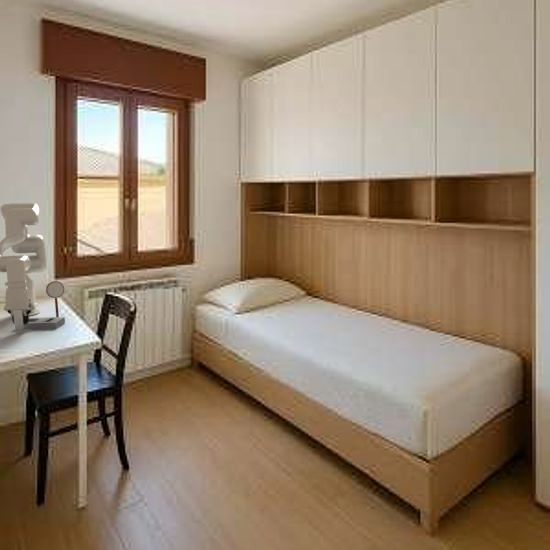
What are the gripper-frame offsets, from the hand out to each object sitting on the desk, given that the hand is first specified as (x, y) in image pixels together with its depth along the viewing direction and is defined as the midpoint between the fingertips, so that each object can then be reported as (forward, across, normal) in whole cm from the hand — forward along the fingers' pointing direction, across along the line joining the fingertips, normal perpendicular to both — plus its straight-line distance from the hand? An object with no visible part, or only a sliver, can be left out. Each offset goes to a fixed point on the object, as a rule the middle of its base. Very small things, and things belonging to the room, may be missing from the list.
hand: (21, 323), depth 225 cm
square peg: (+3, 0, 0) cm, 3 cm away
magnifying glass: (+5, +7, +23) cm, 25 cm away
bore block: (+4, +4, +10) cm, 12 cm away
